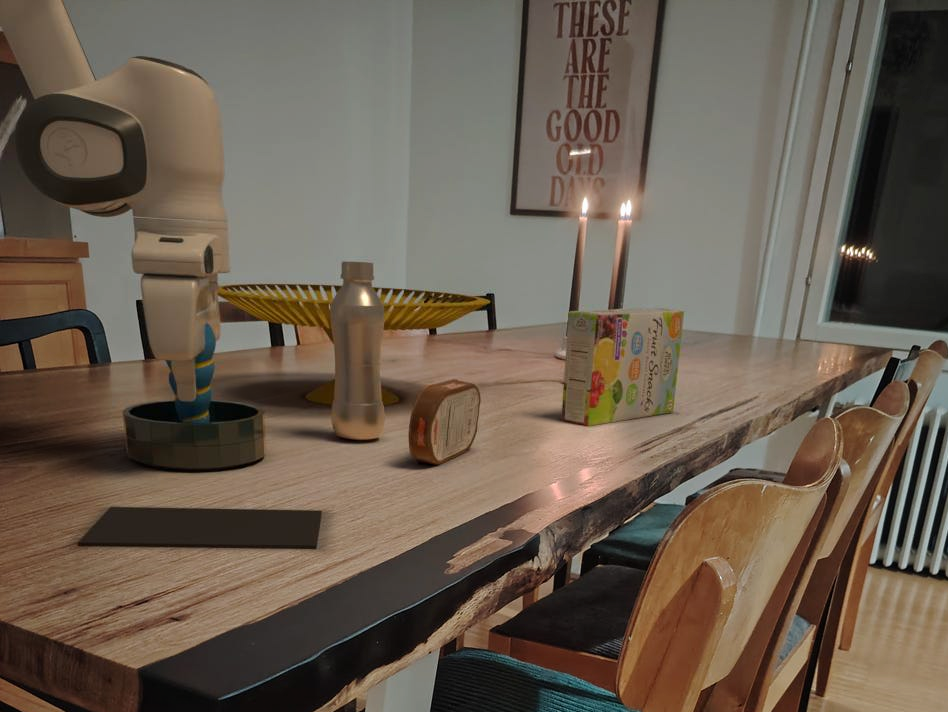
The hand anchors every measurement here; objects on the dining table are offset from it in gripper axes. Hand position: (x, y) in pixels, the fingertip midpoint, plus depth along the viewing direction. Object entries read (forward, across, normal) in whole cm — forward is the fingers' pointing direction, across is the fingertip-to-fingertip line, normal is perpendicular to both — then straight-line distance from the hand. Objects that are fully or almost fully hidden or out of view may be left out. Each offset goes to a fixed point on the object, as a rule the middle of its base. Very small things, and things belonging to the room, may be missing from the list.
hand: (193, 395), depth 97 cm
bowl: (+7, 0, 0) cm, 7 cm away
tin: (+7, -3, +27) cm, 28 cm away
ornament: (+6, 0, 0) cm, 6 cm away
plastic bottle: (+7, -12, +17) cm, 22 cm away
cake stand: (+7, -42, +16) cm, 45 cm away
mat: (+7, +26, +5) cm, 27 cm away
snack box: (+7, -33, +55) cm, 65 cm away
